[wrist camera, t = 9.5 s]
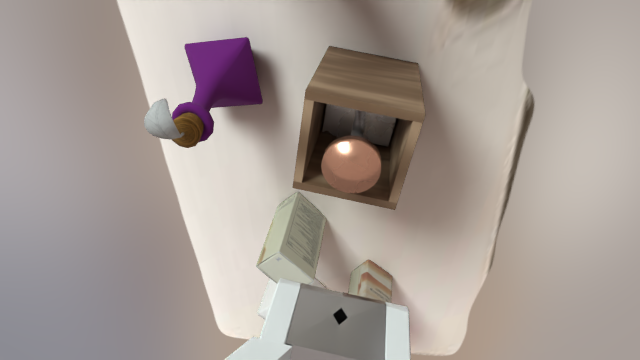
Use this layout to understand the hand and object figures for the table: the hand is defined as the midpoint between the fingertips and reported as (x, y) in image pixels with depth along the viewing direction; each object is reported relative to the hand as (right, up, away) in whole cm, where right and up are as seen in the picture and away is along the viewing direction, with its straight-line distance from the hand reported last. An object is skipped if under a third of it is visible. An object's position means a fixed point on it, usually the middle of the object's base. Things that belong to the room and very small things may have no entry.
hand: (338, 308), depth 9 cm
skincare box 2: (+8, -11, +53) cm, 55 cm away
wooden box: (+5, +13, +38) cm, 40 cm away
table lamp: (+4, +11, +35) cm, 37 cm away
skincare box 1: (-3, -2, +49) cm, 49 cm away
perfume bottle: (-11, +17, +39) cm, 43 cm away
